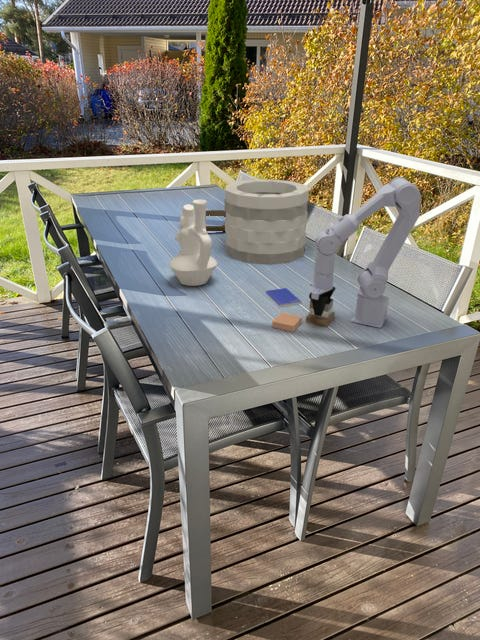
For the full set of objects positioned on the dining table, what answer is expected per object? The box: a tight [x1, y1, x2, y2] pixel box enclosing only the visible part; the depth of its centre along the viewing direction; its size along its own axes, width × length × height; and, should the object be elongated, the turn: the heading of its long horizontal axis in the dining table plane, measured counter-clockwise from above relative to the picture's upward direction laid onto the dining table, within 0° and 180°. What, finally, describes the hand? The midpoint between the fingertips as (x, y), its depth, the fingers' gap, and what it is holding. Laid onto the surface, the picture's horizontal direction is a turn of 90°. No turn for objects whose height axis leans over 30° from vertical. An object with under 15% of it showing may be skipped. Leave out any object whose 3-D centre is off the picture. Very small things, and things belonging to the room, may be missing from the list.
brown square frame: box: [206, 209, 226, 231], centre depth 252 cm, size 31×31×5 cm
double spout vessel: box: [168, 199, 218, 287], centre depth 178 cm, size 18×22×32 cm
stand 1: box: [271, 312, 303, 333], centre depth 155 cm, size 7×7×2 cm
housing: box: [308, 298, 334, 319], centre depth 156 cm, size 6×4×5 cm
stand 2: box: [305, 311, 335, 328], centre depth 158 cm, size 7×7×2 cm
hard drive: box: [265, 287, 303, 308], centre depth 173 cm, size 2×8×12 cm
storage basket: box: [223, 179, 310, 266], centre depth 212 cm, size 35×35×27 cm
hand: (320, 311), depth 157 cm, fingers open, 5 cm apart
